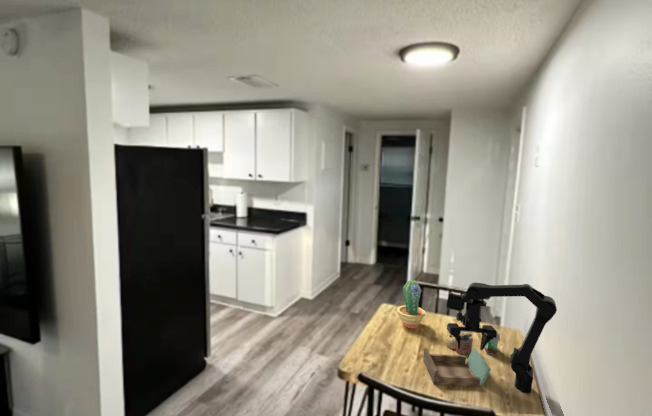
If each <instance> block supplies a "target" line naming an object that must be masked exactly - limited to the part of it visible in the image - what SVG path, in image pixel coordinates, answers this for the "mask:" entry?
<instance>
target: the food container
mask: <svg viewBox="0 0 652 416" xmlns="http://www.w3.org/2000/svg"><path fill="white" fill-rule="evenodd" d="M496 331H497V337H496V338H493V339H491V340H490V341H489V342H488V343H487V345H486V346H485V347H484V349H483V350H485V353H486V355H495V354H497V349H498V344H499V341H500V340H501V335H500V333H499V331H498V330H496Z"/></svg>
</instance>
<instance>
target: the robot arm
mask: <svg viewBox="0 0 652 416" xmlns="http://www.w3.org/2000/svg"><path fill="white" fill-rule="evenodd" d="M495 297H497V298H498V297H506V298H507V297H525V299H527V300H528V301H529V302H530V303H531V304H532V305H533V306H534V307H535V308H536V310H535V315H534V318H533V320H532V321H531V322H532V323H531V324H530V326H529V328H528V330H527V333H526V334H525V337H524V339H523V341H522V343H521V346H520V347H518V348H517V347H514V348H513V352H512V353H511V354H510V358H509V359H510V360H509V363H510V369H511V371H513V372H514V373H515V376H514V387H515V389H517V390H518V391H520V392H521V393H522V394H525V393H526V394H532V387H533V381H534V367H532V365H531V364H530V361H531V356H532V353H533V351H534V349H535V347H536V346H537V345H536V344H537V343H538V340H539V338H540V337H541V334H542V332H543V330H544V328H545V326H546V324H548V323H549V321H551V320H552V318H553V317H554V316H555V315H556V313H557V311H558V308H557V305H556V302H555V299H553V297H551V296H548V295H545V294H544V293H543V292H540V291H539V290H537V289H536V288H534V287H533V286H531V285H530V284H528V283H524V284H500V285H499V284H497V285H495V284H494V285H491V284H486V283H482V282H472V283H470V284H469V286H468V288H467V290H466V291H465V292H463V295H462V294H458V293H457V294H456V293H453V292H449V293H448V297H447V302H446V309H447V310H452V311H457V312H456V316H455V317H456V321H459V322H460V323H461V324H462V326H460V325H459V324H458V323H454V322H453V323H451V322H448V323H447V325H446V330H447V332H448V333H449V335H450V334H451V335H453V337H455V339H456V343H457V347H458V349H460V342H461V336H460V335H461V333H479V334H481V340H480V347H479V349H480V351H483V350H485V349H484V347H485V346H486V345H487V343H488V342H489V341H490V340H491V339H493V338H496V337H497V331H498V330H497V329H495V328H494V326H493V325H488V324H483V325H482V327H481V326H480V325H481V323H482V318H481V315H482V307H483V308H484V307H485V308H486V307H487V304H488V303H487V302H486V301H485V299H488V298H495ZM464 310H465V312H464V314H463V313H462V312H463V311H464Z"/></svg>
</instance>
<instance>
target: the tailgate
mask: <svg viewBox="0 0 652 416" xmlns="http://www.w3.org/2000/svg"><path fill="white" fill-rule="evenodd" d="M465 364H466V366H467V367H468V369H469V370H470V372H471V373H472V375H474V376H473V377H480V386H484V384H485V382H486V380H487V379H488V377H489V375H490V372H491V371H492V368H490V366H489V365H488V364H487V362H486V361H485V359H484V358H483V356H482V355H481V353H479V351H478V349H477V348H475V347H472V351H471V352H470V353H469V356H468V358H467V359H466V363H465Z"/></svg>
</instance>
